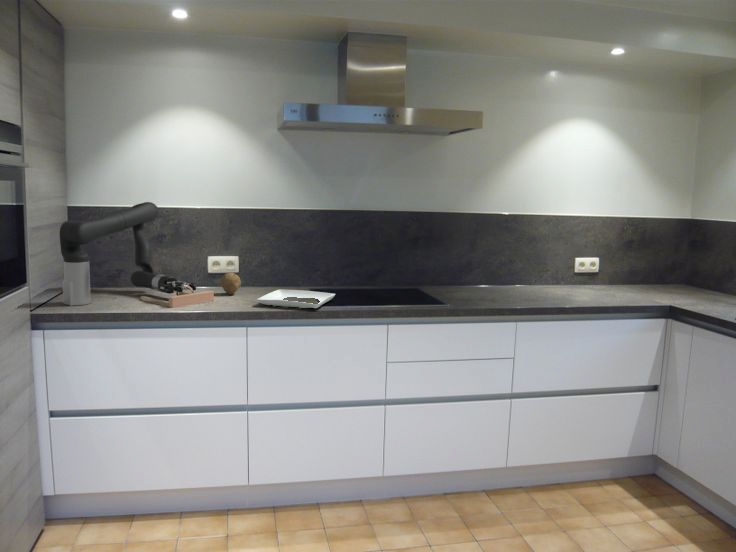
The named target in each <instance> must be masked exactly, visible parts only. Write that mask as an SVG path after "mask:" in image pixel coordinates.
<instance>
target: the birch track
mask: <svg viewBox="0 0 736 552" xmlns="http://www.w3.org/2000/svg"><path fill="white" fill-rule="evenodd" d="M186 294H192V292H189V291H186V290H183V292H178V295H186ZM140 300H141V301H143V302H147V303H152V304H157V305H160V306H163V307H169V301H166V300H162V299H158V298H153V297H149V296H145V295H142V296H140ZM169 308H170V307H169Z"/></svg>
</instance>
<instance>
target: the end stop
mask: <svg viewBox="0 0 736 552" xmlns="http://www.w3.org/2000/svg"><path fill="white" fill-rule="evenodd" d="M214 294H215V293H214V291H211V290H209V291H208V290H207V291H201V292H194V293H193V294H186V295H179V294H178V295H179V296H177V295H174V296H168V302H169V308H171V309H172V308H174V309H175V308H179V307H183V306H191V305H196V304H203V303H209V302H214V301H215V300H214V299H215V297H214Z"/></svg>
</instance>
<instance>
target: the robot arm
mask: <svg viewBox="0 0 736 552" xmlns="http://www.w3.org/2000/svg"><path fill="white" fill-rule="evenodd" d="M159 213H160V209H159V207H158V206H157V204H155V203H154V202H151V201H145V202H141V203H137V204H135V205H134V204H133V206H132V207H131V208H129V207H128V208H122V209H118V210H116V209H115V210H112V211H109V212H108V211H107V212H105V213H103V214H102V215H100V217H99V218H98V219H95V220H89V221H78V220H77V221H76V220H66V221H64V222H63V223H61V225H60V227H59V243H60V244H59V245H60V246H59V247H60V254H61V256H62V258H63V274H64V277H63V280H62V303H63V304H64V305H67V306H71V307H72V306H84V305H89V304H91V301H92V299H91V274H90V256H89V253H87V252H85V250H83V249H82V248H81V246H83V245H87V244H88V245H89V244H90V243H92V242H94V241H96V240H98V239H100V238H102V237H106V236H110V235H115V234H117V233H120V232H123V231H125V230H128V229H130V228H132V233H133V240H134V264H135V266H136V267H138V268H140V269H141V270H136V271H133V272H132V273H131V274H130V282H131V284H132V285H133V286H135V287H139V288H147V289H149V290H153V291H154V290H155V291H157V292H160V293H165V294H168V295H169V294H170V295H171V294H173V293H176V292H178V293H179V292H183V291H187V290H190V291H191V289H189V288H187V287H180V286H181V285H182V284H183V283H186V285H188V286H190V287H191V288H192V289H193V291H196V290H197V285H196V284H195V282H192V281H188V280H186V281H181V280H178V279H177V278H176V277H175V276H173V275H167V274H157V273H155V270H154V267H153V263H152V247H151V243H150V242H149V240H148V238H147V236H146V234H145V232H144V231H145V230H144V228H145V227H144V226H145V224H147V223H151V222H154V221H156V220H157V218H158V217H159V215H160V214H159ZM180 284H181V285H180Z"/></svg>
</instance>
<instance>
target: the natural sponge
mask: <svg viewBox="0 0 736 552" xmlns="http://www.w3.org/2000/svg"><path fill="white" fill-rule="evenodd" d="M220 284H221V287H222V290H223V291H224V292H225V293H226V294H227V295H229V296H230V295H233V294H235V293H236V292H237V291H238V290H239V289H240V288H241V286H242V281H241V277H240V276H238V275H237V274H236V273H234V272H227V273H225V274H224V275H223V276H222V277H221V278H220Z"/></svg>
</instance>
